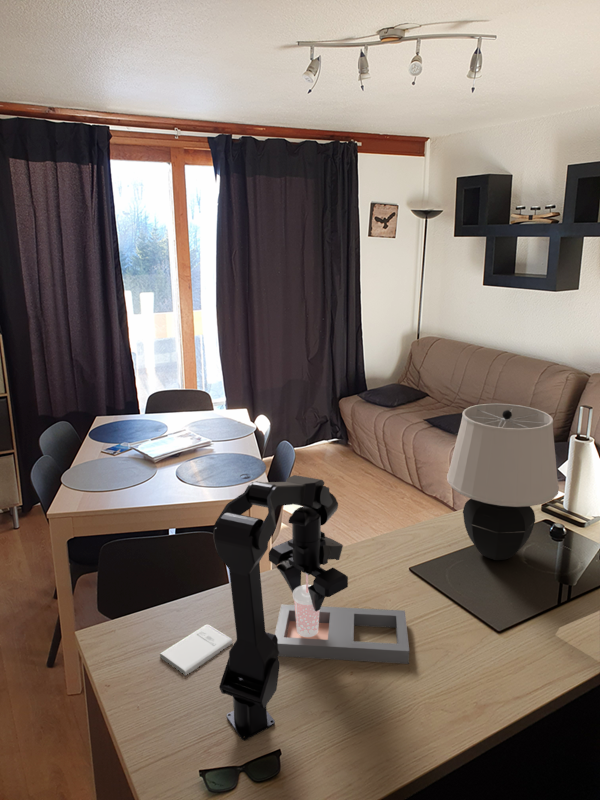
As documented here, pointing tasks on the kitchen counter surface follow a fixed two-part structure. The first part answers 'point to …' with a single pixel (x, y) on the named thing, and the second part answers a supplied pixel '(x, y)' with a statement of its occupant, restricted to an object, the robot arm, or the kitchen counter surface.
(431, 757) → the kitchen counter surface
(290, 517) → the robot arm
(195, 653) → the external hard drive
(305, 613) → the beverage cup
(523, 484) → the table lamp
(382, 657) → the cup caddy
